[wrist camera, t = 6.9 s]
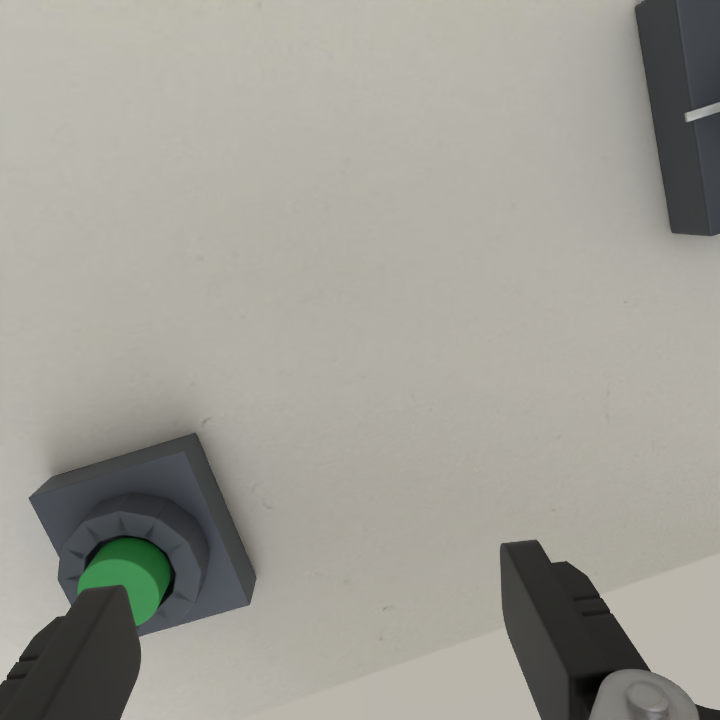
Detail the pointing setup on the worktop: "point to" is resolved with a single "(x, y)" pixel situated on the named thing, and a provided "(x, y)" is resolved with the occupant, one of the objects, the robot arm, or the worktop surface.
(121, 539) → the button
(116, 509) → the button block
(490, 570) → the worktop surface
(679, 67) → the control panel
